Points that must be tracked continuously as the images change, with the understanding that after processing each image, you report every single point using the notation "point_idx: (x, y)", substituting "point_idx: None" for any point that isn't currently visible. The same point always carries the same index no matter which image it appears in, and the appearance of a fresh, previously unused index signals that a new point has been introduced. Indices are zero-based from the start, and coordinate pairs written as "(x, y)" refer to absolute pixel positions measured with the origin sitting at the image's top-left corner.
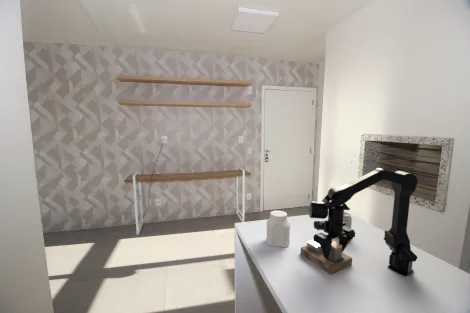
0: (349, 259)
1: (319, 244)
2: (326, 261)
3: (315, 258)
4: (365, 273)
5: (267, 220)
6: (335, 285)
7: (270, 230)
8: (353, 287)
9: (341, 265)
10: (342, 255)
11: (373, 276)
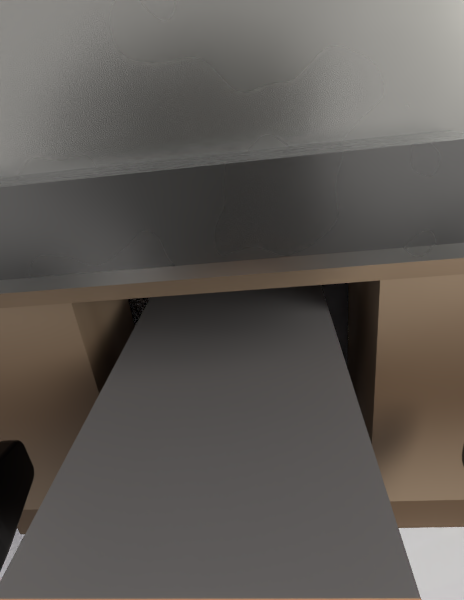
0: (435, 522)
1: (123, 36)
2: (31, 447)
3: None
4: (429, 554)
5: None
6: (13, 545)
7: None
8: None
9: None
10: (447, 433)
11: (448, 593)
